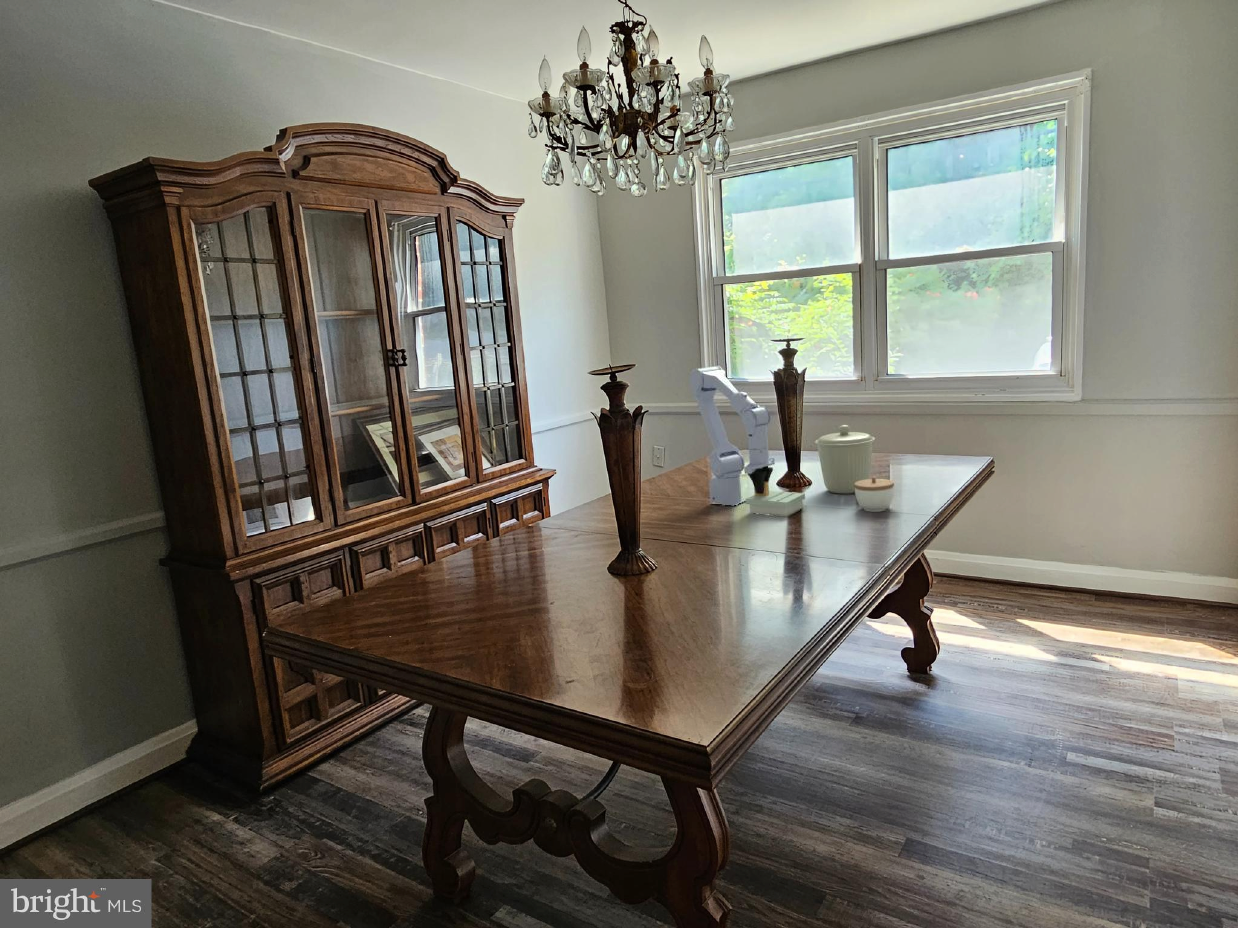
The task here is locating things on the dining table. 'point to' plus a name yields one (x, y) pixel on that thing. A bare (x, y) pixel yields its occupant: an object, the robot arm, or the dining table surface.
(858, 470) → the canister
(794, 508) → the parts tub
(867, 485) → the lidded jar
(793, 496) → the lid
